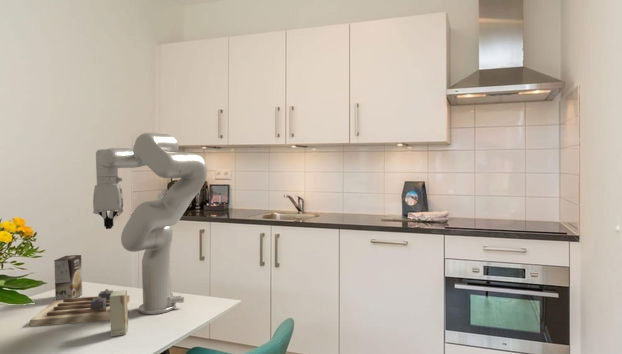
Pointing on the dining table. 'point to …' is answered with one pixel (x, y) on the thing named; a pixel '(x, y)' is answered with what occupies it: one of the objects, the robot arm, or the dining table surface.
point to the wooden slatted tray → (71, 312)
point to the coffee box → (68, 277)
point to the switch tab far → (105, 294)
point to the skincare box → (118, 313)
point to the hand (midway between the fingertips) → (108, 228)
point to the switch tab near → (98, 303)
